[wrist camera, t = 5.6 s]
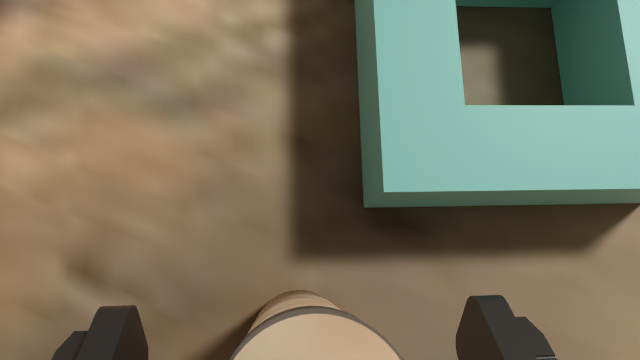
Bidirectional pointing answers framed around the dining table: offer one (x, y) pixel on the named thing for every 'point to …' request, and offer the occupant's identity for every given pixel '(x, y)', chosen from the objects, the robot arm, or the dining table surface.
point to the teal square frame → (497, 111)
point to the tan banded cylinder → (311, 333)
